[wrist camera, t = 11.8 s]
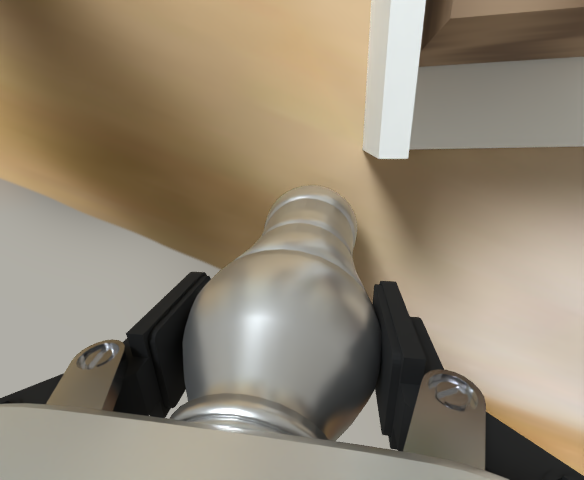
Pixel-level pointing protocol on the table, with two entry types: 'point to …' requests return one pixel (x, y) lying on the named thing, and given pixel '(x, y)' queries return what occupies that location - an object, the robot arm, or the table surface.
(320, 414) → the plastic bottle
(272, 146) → the table surface
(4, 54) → the table surface
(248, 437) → the robot arm
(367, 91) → the shelf
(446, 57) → the bookend
